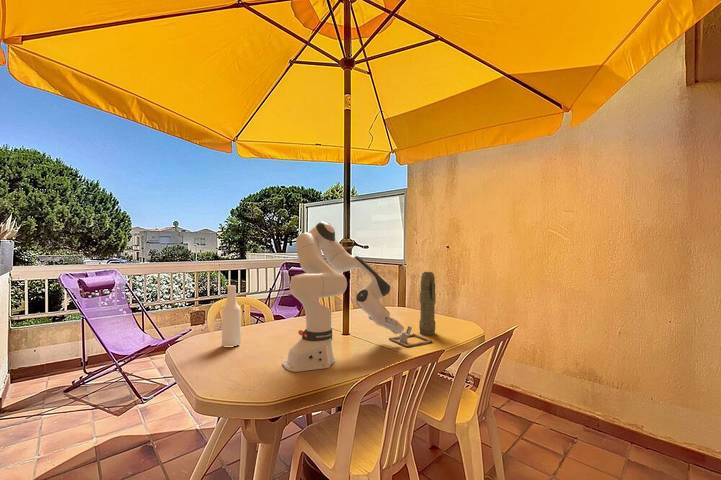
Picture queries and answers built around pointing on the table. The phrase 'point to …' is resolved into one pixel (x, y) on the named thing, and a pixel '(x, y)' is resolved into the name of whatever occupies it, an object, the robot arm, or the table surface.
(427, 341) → the frame
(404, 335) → the lighter
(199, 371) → the table surface
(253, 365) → the table surface
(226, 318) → the alcohol
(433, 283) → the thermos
